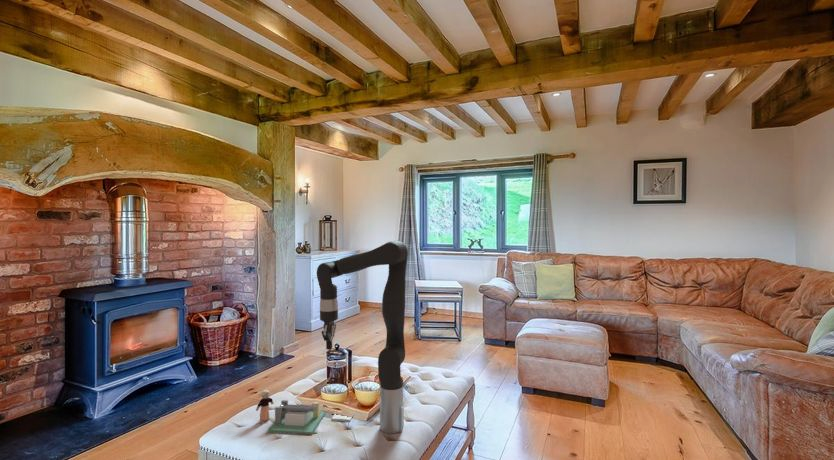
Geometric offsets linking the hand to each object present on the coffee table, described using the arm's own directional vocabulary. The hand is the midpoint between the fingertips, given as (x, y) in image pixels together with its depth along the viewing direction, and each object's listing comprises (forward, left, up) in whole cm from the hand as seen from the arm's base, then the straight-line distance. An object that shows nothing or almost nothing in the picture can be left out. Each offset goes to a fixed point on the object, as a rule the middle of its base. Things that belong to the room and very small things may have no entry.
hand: (329, 349), depth 165 cm
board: (+11, +8, -29) cm, 31 cm away
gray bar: (+11, +8, -23) cm, 27 cm away
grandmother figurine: (+25, +7, -29) cm, 39 cm away
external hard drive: (-7, -2, -29) cm, 30 cm away
